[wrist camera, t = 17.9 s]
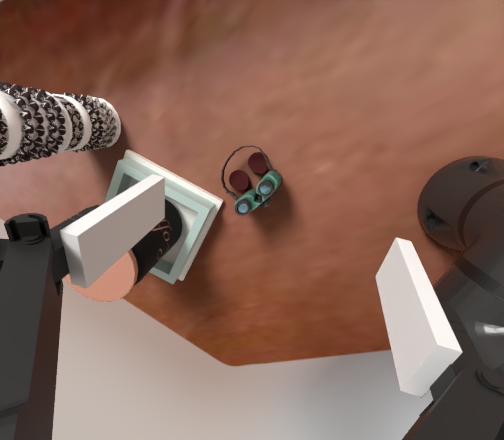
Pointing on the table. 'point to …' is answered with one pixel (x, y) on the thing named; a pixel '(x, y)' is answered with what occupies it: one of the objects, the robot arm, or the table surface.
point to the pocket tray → (186, 202)
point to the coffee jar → (136, 260)
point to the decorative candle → (52, 123)
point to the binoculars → (263, 189)
